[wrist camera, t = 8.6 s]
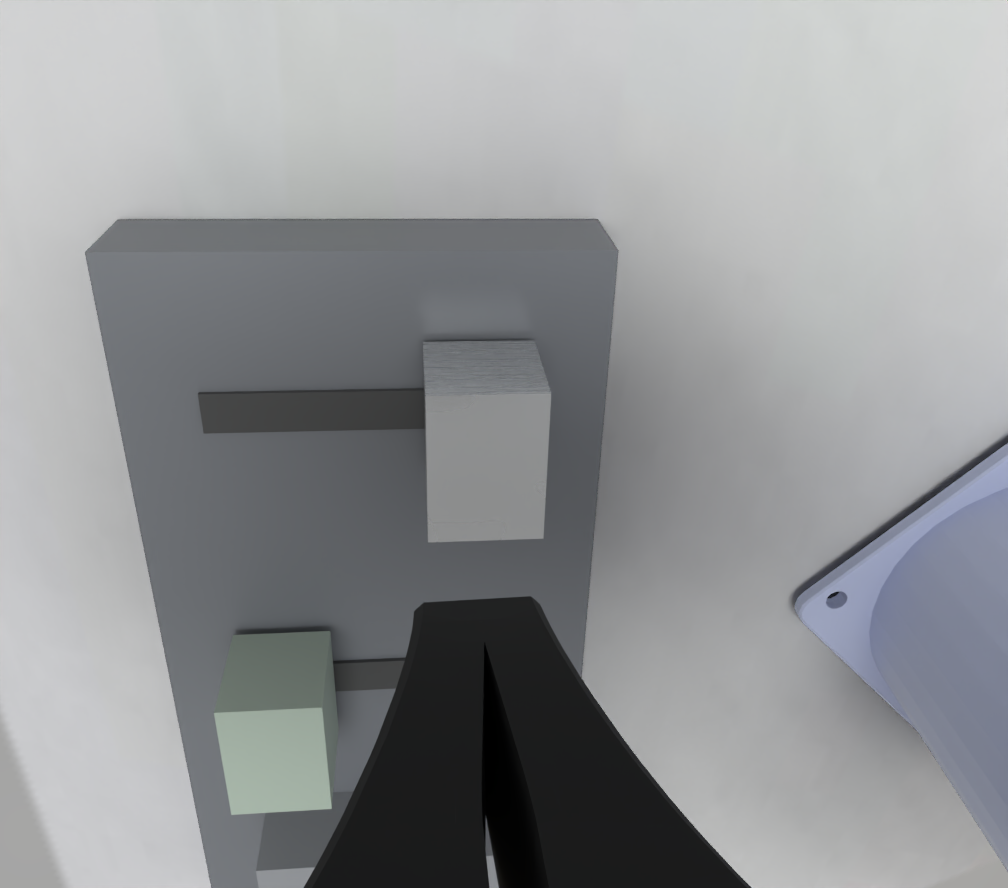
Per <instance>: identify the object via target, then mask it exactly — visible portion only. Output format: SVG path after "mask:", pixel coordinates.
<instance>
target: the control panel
mask: <svg viewBox="0 0 1008 888" xmlns="http://www.w3.org/2000/svg"><path fill="white" fill-rule="evenodd" d="M85 255H86V260H87V265H88V270H89V275H90V280H91V285H92V290H93V295H94V300H95V305H96V310H97V315H98V320H99V325H100V330H101V336H102V341H103V346H104V351H105V356H106V361H107V366H108V371H109V376H110V381H111V386H112V391H113V396H114V401H115V406H116V411H117V416H118V421H119V426H120V431H121V436H122V441H123V446H124V451H125V456H126V461H127V466H128V471H129V476H130V481H131V486H132V491H133V496H134V501H135V506H136V511H137V516H138V521H139V526H140V531H141V536H142V541H143V546H144V551H145V556H146V561H147V567H148V572H149V577H150V582H151V587H152V592H153V597H154V602H155V607H156V612H157V617H158V622H159V627H160V632H161V637H162V642H163V647H164V652H165V657H166V662H167V667H168V672H169V677H170V682H171V687H172V692H173V697H174V702H175V707H176V712H177V717H178V722H179V727H180V732H181V737H182V742H183V747H184V752H185V757H186V762H187V767H188V772H189V777H190V782H191V787H192V792H193V798H194V803H195V808H196V813H197V818H198V823H199V828H200V833H201V838H202V843H203V848H204V853H205V858H206V863H207V868H208V873H209V878H210V883H211V888H304V886H305V884H306V883H307V881H308V879H309V877H310V875H311V874H312V872H313V870H314V868H315V867H316V865H317V863H318V861H319V859H320V858H321V856H322V854H323V852H324V850H325V848H326V846H327V844H328V843H329V841H330V839H331V837H332V835H333V833H334V831H335V829H336V827H337V825H338V823H339V821H340V819H341V817H342V815H343V813H344V811H345V809H346V807H347V805H348V802H349V800H350V798H351V796H352V794H353V792H354V789H355V787H356V785H357V783H358V781H359V779H360V776H361V774H362V772H363V770H364V768H365V766H366V764H367V761H368V759H369V757H370V755H371V752H372V750H373V748H374V745H375V743H376V740H377V738H378V735H379V733H380V730H381V727H382V725H383V722H384V719H385V717H386V714H387V711H388V709H389V706H390V704H391V701H392V698H393V696H394V693H395V690H396V687H397V684H398V681H399V678H400V674H401V671H402V668H403V665H404V661H405V658H406V654H407V650H408V646H409V642H410V637H411V632H412V626H413V617H414V611H415V610H416V609H417V608H418V607H419V606H420V605H421V604H423V603H424V602H439V601H457V600H474V599H491V598H508V597H525V596H531V597H532V598H534V599H535V600H536V601H537V602H538V603H539V604H540V605H541V607H542V609H543V612H544V614H545V616H546V618H547V620H548V622H549V624H550V626H551V628H552V629H553V631H554V633H555V635H556V637H557V639H558V640H559V642H560V644H561V646H562V647H563V649H564V651H565V652H566V654H567V656H568V657H569V659H570V661H571V662H572V664H573V666H574V667H575V669H576V670H577V672H578V674H579V675H580V677H581V676H582V665H583V653H584V642H585V630H586V619H587V607H588V595H589V584H590V572H591V561H592V549H593V538H594V526H595V515H596V503H597V491H598V480H599V468H600V457H601V445H602V434H603V422H604V410H605V399H606V387H607V376H608V364H609V353H610V341H611V329H612V318H613V306H614V295H615V283H616V272H617V260H618V249H617V247H616V246H615V245H614V243H613V242H612V240H611V239H610V237H609V236H608V234H607V233H606V231H605V230H604V228H603V227H602V225H601V224H600V222H599V221H598V219H423V220H117V221H116V222H115V223H114V224H113V225H112V226H111V227H110V228H109V229H108V230H107V231H106V232H105V233H104V234H103V235H102V236H101V237H100V238H99V239H98V240H97V241H96V242H95V243H94V244H93V245H92V246H91V247H90V248H89V249H88V250H87V251H86V252H85ZM524 340H535V344H536V347H537V350H538V353H539V356H540V359H541V362H542V366H543V369H544V372H545V375H546V378H547V381H548V384H549V388H550V391H551V409H550V427H549V445H548V464H547V482H546V500H545V518H544V537H543V539H518V540H488V541H458V542H428V527H427V501H426V472H425V420H424V367H423V342H448V341H524ZM317 631H330V633H331V645H332V657H333V668H334V680H335V692H336V704H337V716H338V727H339V729H338V740H337V752H336V764H335V776H334V788H333V800H332V809H322V810H305V811H289V812H272V813H255V814H238V815H231V810H230V804H229V798H228V792H227V786H226V781H225V775H224V769H223V763H222V758H221V752H220V746H219V740H218V734H217V729H216V723H215V717H214V710H215V706H216V702H217V698H218V694H219V690H220V686H221V682H222V677H223V673H224V669H225V665H226V661H227V657H228V653H229V649H230V645H231V641H232V637H233V635H246V634H270V633H294V632H317ZM485 850H486V860H487V869H488V878H489V888H499V886H498V881H497V875H496V869H495V864H494V858H493V853H492V847H491V842H490V836H489V831H488V825H487V819H486V847H485Z"/></svg>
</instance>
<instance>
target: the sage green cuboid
mask: <svg viewBox="0 0 1008 888" xmlns="http://www.w3.org/2000/svg"><path fill="white" fill-rule="evenodd" d="M214 717H215V723H216V729H217V734H218V740H219V746H220V752H221V758H222V763H223V769H224V775H225V781H226V786H227V792H228V798H229V804H230V810H231V815H238V814H255V813H272V812H289V811H305V810H322V809H332V800H333V788H334V776H335V764H336V752H337V740H338V729H339V727H338V716H337V704H336V692H335V680H334V668H333V657H332V645H331V633H330V631H317V632H294V633H270V634H246V635H233V637H232V641H231V645H230V649H229V653H228V657H227V661H226V665H225V669H224V673H223V677H222V682H221V686H220V690H219V694H218V698H217V702H216V706H215V710H214Z"/></svg>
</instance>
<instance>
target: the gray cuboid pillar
mask: <svg viewBox="0 0 1008 888" xmlns="http://www.w3.org/2000/svg"><path fill="white" fill-rule="evenodd" d="M423 367H424V420H425V472H426V501H427V527H428V542H458V541H488V540H518V539H543V537H544V518H545V500H546V482H547V464H548V445H549V427H550V409H551V391H550V388H549V384H548V381H547V378H546V375H545V372H544V369H543V366H542V362H541V359H540V356H539V353H538V350H537V347H536V344H535V340H524V341H448V342H423Z"/></svg>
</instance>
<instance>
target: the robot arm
mask: <svg viewBox="0 0 1008 888" xmlns="http://www.w3.org/2000/svg"><path fill="white" fill-rule="evenodd" d="M839 591H840V592H839ZM834 592H839V593H838V594H837V595H836V596H834V597H832V598H828V597H829V595H830V594H832V593H834ZM795 611H796V613H797V614H798V616H799V618H800V619H801V621H802V623H803V624H804V625H805V626H807V627H808V628H809V629H810V630H811V631H812V632H813V633H814V634H815V635H816V636H817V637H818V638H819V639H820V640H821V641H822V642H823V643H825V644H826V645H827V646H828V647H829V648H830V649H831V650H832V651H833V652H834V653H835V654H836V655H837V656H838V657H839V658H840V659H841V660H843V661H844V662H845V663H846V664H847V665H848V666H849V667H850V668H851V669H852V670H853V671H854V672H855V673H856V674H857V675H858V676H859V677H861V678H862V679H863V680H864V681H865V682H866V683H867V684H868V685H869V686H870V687H871V688H872V689H873V690H874V691H875V692H876V693H877V694H879V695H880V696H881V697H882V698H883V699H884V700H885V701H886V702H887V703H888V704H889V705H890V706H891V707H892V708H893V709H894V710H895V711H897V712H898V713H899V714H900V715H901V716H902V717H903V718H904V719H905V720H906V721H907V722H908V723H909V724H910V725H911V726H912V727H913V728H915V729H916V730H917V731H918V733H919V734H920V736H921V737H922V739H923V740H924V742H925V744H926V745H927V747H928V748H929V750H930V751H931V753H932V754H933V756H934V758H935V759H936V761H937V762H938V764H939V765H940V767H941V768H942V770H943V772H944V773H945V775H946V776H947V778H948V779H949V781H950V782H951V784H952V786H953V787H954V789H955V790H956V792H957V793H958V795H959V797H960V798H961V800H962V801H963V803H964V804H965V806H966V807H967V809H968V811H969V812H970V814H971V815H972V817H973V818H974V820H975V821H976V823H977V825H978V826H979V828H980V829H981V831H982V832H983V834H984V835H985V837H986V839H987V840H988V842H989V843H990V845H991V846H992V848H993V849H994V851H995V853H996V854H997V856H998V857H999V859H1000V860H1001V862H1002V863H1003V865H1004V866H1005V868H1006V870H1007V871H1008V443H1007V444H1006V445H1004V446H1003V447H1001V448H1000V449H999V450H997V451H996V452H995V453H993V454H992V455H990V456H989V457H988V458H986V459H985V460H984V461H982V462H981V463H980V464H978V465H977V466H975V467H974V468H973V469H971V470H970V471H969V472H967V473H966V474H964V475H963V476H962V477H960V478H959V479H958V480H956V481H955V482H953V483H952V484H951V485H949V486H948V487H947V488H945V489H944V490H943V491H941V492H940V493H938V494H937V495H936V496H934V497H933V498H932V499H930V500H929V501H927V502H926V503H925V504H923V505H922V506H921V507H919V508H918V509H917V510H915V511H914V512H912V513H911V514H910V515H908V516H907V517H906V518H904V519H903V520H901V521H900V522H899V523H897V524H896V525H895V526H893V527H892V528H890V529H889V530H888V531H886V532H885V533H884V534H882V535H881V536H880V537H878V538H877V539H875V540H874V541H873V542H871V543H870V544H869V545H867V546H866V547H864V548H863V549H862V550H860V551H859V552H858V553H856V554H855V555H854V556H852V557H851V558H849V559H848V560H847V561H845V562H844V563H843V564H841V565H840V566H838V567H837V568H836V569H834V570H833V571H832V572H830V573H829V574H828V575H826V576H825V577H823V578H822V579H821V580H819V581H818V582H817V583H815V584H814V585H812V586H811V587H810V588H808V589H807V590H806V591H804V592H803V593H802V594H801V595H800V596H799V597H798V598H797V600H796V603H795ZM486 819H487V825H488V831H489V836H490V842H491V847H492V853H493V858H494V864H495V869H496V875H497V881H498V886H499V888H751V887H750V886H749V885H748V884H747V883H746V882H745V881H744V880H743V879H742V878H741V877H740V876H739V875H738V874H737V873H736V872H735V871H734V870H733V869H732V867H731V866H730V865H729V864H728V863H727V862H726V861H725V860H724V859H723V858H722V857H721V856H720V855H719V853H718V852H717V851H716V850H715V849H714V848H713V847H712V846H711V845H710V844H709V843H708V842H707V841H706V839H705V838H704V837H703V836H702V835H701V834H700V833H699V832H698V831H697V829H696V828H695V827H694V826H693V825H692V824H691V823H690V821H689V820H688V819H687V818H686V817H685V816H684V815H683V813H682V812H681V811H680V810H679V809H678V807H677V806H676V805H675V804H674V803H673V802H672V800H671V799H670V798H669V797H668V796H667V794H666V793H665V792H664V791H663V789H662V788H661V787H660V786H659V784H658V783H657V782H656V781H655V779H654V778H653V777H652V776H651V774H650V773H649V772H648V771H647V769H646V768H645V767H644V766H643V764H642V763H641V762H640V761H639V759H638V758H637V757H636V755H635V754H634V753H633V751H632V750H631V749H630V747H629V746H628V745H627V743H626V742H625V741H624V739H623V738H622V737H621V735H620V734H619V732H618V731H617V729H616V728H615V727H614V725H613V724H612V722H611V721H610V720H609V718H608V717H607V715H606V714H605V712H604V711H603V710H602V708H601V707H600V705H599V704H598V702H597V701H596V700H595V698H594V697H593V695H592V694H591V692H590V691H589V689H588V688H587V686H586V685H585V683H584V682H583V680H582V678H581V677H580V675H579V674H578V672H577V670H576V669H575V667H574V666H573V664H572V662H571V661H570V659H569V657H568V656H567V654H566V652H565V651H564V649H563V647H562V646H561V644H560V642H559V640H558V639H557V637H556V635H555V633H554V631H553V629H552V628H551V626H550V624H549V622H548V620H547V618H546V616H545V614H544V612H543V609H542V607H541V605H540V604H539V603H538V602H537V601H536V600H535V599H534V598H532V597H531V596H525V597H508V598H491V599H474V600H457V601H439V602H424V603H423V604H421V605H420V606H419V607H418V608H417V609H416V610H415V611H414V617H413V626H412V632H411V637H410V642H409V646H408V650H407V654H406V658H405V661H404V665H403V668H402V671H401V674H400V678H399V681H398V684H397V687H396V690H395V693H394V696H393V698H392V701H391V704H390V706H389V709H388V711H387V714H386V717H385V719H384V722H383V725H382V727H381V730H380V733H379V735H378V738H377V740H376V743H375V745H374V748H373V750H372V752H371V755H370V757H369V759H368V761H367V764H366V766H365V768H364V770H363V772H362V774H361V776H360V779H359V781H358V783H357V785H356V787H355V789H354V792H353V794H352V796H351V798H350V800H349V802H348V805H347V807H346V809H345V811H344V813H343V815H342V817H341V819H340V821H339V823H338V825H337V827H336V829H335V831H334V833H333V835H332V837H331V839H330V841H329V843H328V844H327V846H326V848H325V850H324V852H323V854H322V856H321V858H320V859H319V861H318V863H317V865H316V867H315V868H314V870H313V872H312V874H311V875H310V877H309V879H308V881H307V883H306V884H305V886H304V888H489V878H488V869H487V860H486V850H485V847H486Z"/></svg>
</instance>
